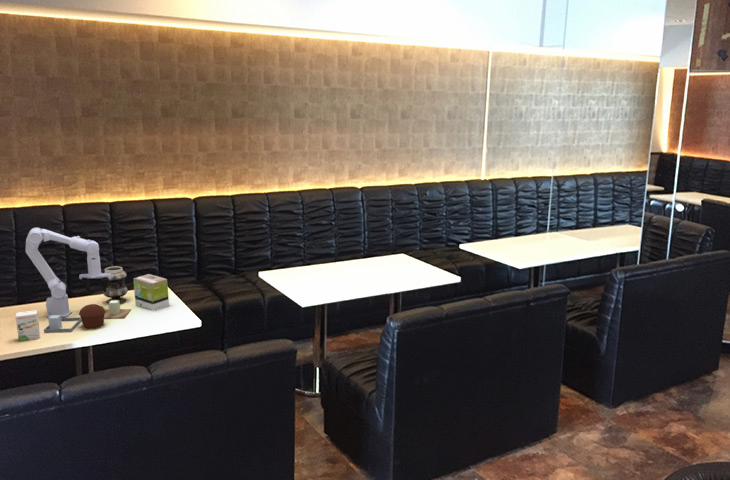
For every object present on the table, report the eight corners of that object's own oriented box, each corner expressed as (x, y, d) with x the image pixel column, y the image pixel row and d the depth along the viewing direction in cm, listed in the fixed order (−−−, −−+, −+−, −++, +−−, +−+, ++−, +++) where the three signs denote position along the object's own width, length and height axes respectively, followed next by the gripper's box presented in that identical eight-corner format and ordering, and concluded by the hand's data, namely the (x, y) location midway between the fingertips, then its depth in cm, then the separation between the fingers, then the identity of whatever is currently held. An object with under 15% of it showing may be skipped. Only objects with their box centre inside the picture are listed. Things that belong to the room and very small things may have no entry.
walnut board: (98, 319, 306) (98, 318, 305) (106, 310, 317) (106, 309, 317) (124, 318, 307) (124, 317, 307) (131, 310, 318) (130, 308, 318)
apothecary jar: (133, 299, 334) (131, 266, 330) (116, 306, 323) (113, 272, 319) (116, 296, 339) (113, 264, 335) (98, 303, 328) (95, 269, 324)
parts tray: (44, 332, 288) (43, 329, 288) (56, 321, 303) (56, 318, 303) (71, 331, 289) (71, 328, 289) (82, 320, 304) (82, 317, 304)
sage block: (109, 314, 310) (108, 302, 308) (112, 312, 314) (110, 300, 312) (118, 314, 310) (116, 302, 309) (120, 311, 314) (119, 300, 312)
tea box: (134, 305, 325) (132, 277, 322) (151, 300, 333) (149, 273, 330) (153, 311, 317) (151, 282, 313) (169, 306, 325) (167, 278, 321)
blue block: (49, 330, 291) (48, 318, 290) (53, 327, 295) (51, 315, 293) (58, 330, 291) (57, 318, 290) (62, 327, 295) (60, 315, 294)
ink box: (18, 341, 278) (15, 316, 275) (18, 337, 282) (15, 312, 280) (40, 338, 282) (37, 313, 279) (39, 334, 286) (36, 309, 284)
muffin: (111, 322, 301) (110, 302, 299) (97, 331, 291) (95, 310, 289) (89, 320, 304) (87, 300, 301) (74, 328, 293) (72, 308, 291)
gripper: (76, 268, 308) (78, 295, 311) (107, 267, 309) (109, 294, 312) (81, 264, 315) (83, 290, 318) (111, 263, 316) (113, 290, 319)
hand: (96, 292), depth 316 cm, fingers open, 7 cm apart
